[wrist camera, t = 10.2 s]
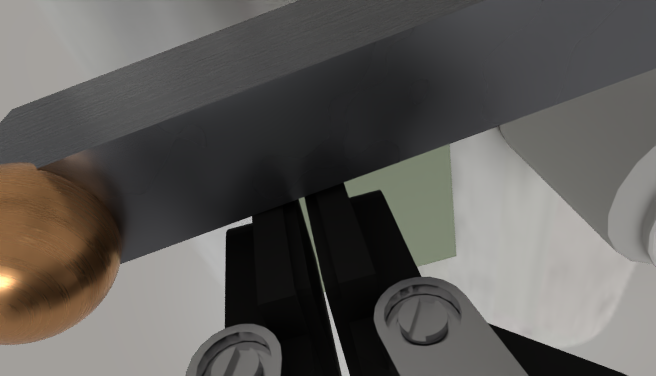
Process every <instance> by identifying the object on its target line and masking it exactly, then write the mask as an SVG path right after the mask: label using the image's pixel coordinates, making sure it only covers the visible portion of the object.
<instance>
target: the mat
mask: <svg viewBox="0 0 656 376" xmlns="http://www.w3.org/2000/svg"><path fill="white" fill-rule="evenodd" d="M344 185H345V188H346V190H347V193H348V196H349V197H353V196H357V195H361V194H364V193H368V192H372V191H376V190H381V191H382V193H383V195H384V197H385V199H386V201H387V203H388V205H389V208H390V210H391V212H392V214H393V216H394V218H395V221H396V223H397V225H398V227H399V229H400V231H401V234H402V236H403V238H404V240H405V242H406V244H407V247H408V249H409V251H410V253H411V255H412V257H413V260H414V262H415V264H416V266H417V267H418V266H421V265H425V264H429V263H432V262H436V261H440V260H443V259H447V258H451V257H454V256H456V244H455V227H454V211H453V195H452V179H451V162H450V146H449V144H448V145H445V146H442V147H439V148H437V149H434V150H431V151H429V152H426V153H423V154H420V155H418V156H415V157H412V158H409V159H407V160H404V161H401V162H398V163H396V164H393V165H390V166H387V167H385V168H382V169H379V170H377V171H374V172H371V173H368V174H366V175H363V176H360V177H357V178H355V179H352V180H349V181H346V182H344ZM299 202H300V205H301V209H302V212H303V215H304V219H305V222H306V226H307V229H308V232H309V236H310V239H311V243H312V246H313V249H314V253H315V257H316V261H317V265H318V269H319V274H320V278H321V283H322V288H323V292H326V291H325V288H324V284H323V280H322V275H321V271H320V267H319V262H318V258H317V253H316V248H315V244H314V239H313V235H312V230H311V226H310V221H309V217H308V212H307V208H306V203H305V199H304V197H303V198H300V199H299Z"/></svg>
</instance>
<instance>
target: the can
mask: <svg viewBox="0 0 656 376" xmlns="http://www.w3.org/2000/svg"><path fill="white" fill-rule="evenodd" d="M500 131H501V133H502V135H503V136H504V138H505V140H506V141H507V143H508V145H509V146H510V147H511V148H512V149H513V150H514V151H515V152H516V153H517V154H518V155H519V156H520V157H521V158H522V159H523V160H524V161H525V162H526V163H527V164H528V165H529V166H530V167H531V168H532V169H533V170H534V171H535V172H536V173H537V174H538V175H539V176H540V177H541V178H542V179H543V180H544V181H545V182H546V183H547V184H548V185H549V186H550V187H551V188H553V189H554V190H555V191H556V192H557V193H558V194H559V195H560V196H561V197H562V198H563V199H564V200H565V201H566V202H567V203H568V204H569V205H570V206H571V207H572V208H573V209H574V210H575V211H576V212H577V213H578V214H579V215H580V216H581V217H582V218H583V219H584V220H585V221H586V222H587V223H588V224H589V225H590V226H591V227H592V228H593V229H594V230H595V231H596V232H597V233H598V234H599V235H600V236H601V237H602V238H603V239H604V240H605V241H606V242H607V243H608V244H609V245H610V246H611V247H612V248H613V249H614V250H615V251H616V252H618V253H619V254H621V255H622V256H624V257H626V258H627V259H629V260H630V261H634V262H641V263H648V264H653V265H654V266H656V69H653V70H650V71H648V72H645V73H642V74H639V75H637V76H634V77H631V78H628V79H626V80H623V81H620V82H617V83H615V84H612V85H609V86H606V87H604V88H601V89H598V90H596V91H593V92H590V93H587V94H585V95H582V96H579V97H576V98H574V99H571V100H568V101H565V102H563V103H560V104H557V105H554V106H552V107H549V108H546V109H544V110H541V111H538V112H535V113H533V114H530V115H527V116H524V117H522V118H519V119H516V120H513V121H511V122H508V123H505V124H502V125H500Z"/></svg>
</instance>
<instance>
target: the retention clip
mask: <svg viewBox="0 0 656 376" xmlns="http://www.w3.org/2000/svg"><path fill="white" fill-rule="evenodd" d="M653 69H656V0H299V1H296V2H294V3H291V4H288V5H286V6H283V7H280V8H278V9H275V10H272V11H270V12H267V13H265V14H262V15H259V16H257V17H254V18H251V19H249V20H246V21H244V22H241V23H238V24H236V25H233V26H230V27H228V28H225V29H223V30H220V31H217V32H215V33H212V34H209V35H207V36H204V37H201V38H199V39H196V40H194V41H191V42H188V43H186V44H183V45H180V46H178V47H175V48H173V49H170V50H167V51H165V52H162V53H159V54H157V55H154V56H152V57H149V58H146V59H144V60H141V61H138V62H136V63H133V64H130V65H128V66H125V67H123V68H120V69H117V70H115V71H112V72H109V73H107V74H104V75H102V76H99V77H96V78H94V79H91V80H88V81H86V82H83V83H81V84H78V85H76V86H73V87H70V88H68V89H65V90H62V91H59V92H57V93H54V94H52V95H50V96H46V97H44V98H41V99H39V100H36V101H33V102H31V103H28V104H25V105H23V106H20V107H17V108H15V109H12V110H11V111H10V112H9V114H8V115H7V116H6V117H5V118H4V119H3V120H2V121H1V123H0V345H15V344H25V343H31V342H36V341H40V340H43V339H46V338H49V337H52V336H55V335H57V334H59V333H62V332H64V331H65V330H67V329H69V328H71V327H73V326H74V325H76V324H78V323H79V322H80V321H81V320H83V319H84V318H85V317H86V316H88V315H89V314H90V313H91V312H92V311H93V310H94V309H95V308H96V307H97V306H98V305H99V304H100V303H101V302H102V300H103V299H104V298H105V296H106V295H107V293H108V292H109V290H110V288H111V287H112V285H113V283H114V281H115V278H116V276H117V273H118V269H119V266H120V264H122V263H124V262H127V261H130V260H133V259H136V258H138V257H141V256H144V255H147V254H149V253H152V252H155V251H158V250H160V249H163V248H166V247H169V246H171V245H174V244H177V243H179V242H182V241H185V240H188V239H190V238H193V237H196V236H199V235H201V234H204V233H207V232H210V231H212V230H215V229H218V228H221V227H223V226H226V225H229V224H231V223H234V222H237V221H240V220H242V219H245V218H248V217H251V216H253V215H256V214H259V213H262V212H264V211H267V210H270V209H273V208H275V207H278V206H281V205H283V204H286V203H289V202H292V201H294V200H297V199H300V198H303V197H305V196H308V195H311V194H314V193H316V192H319V191H322V190H325V189H327V188H330V187H333V186H335V185H338V184H341V183H344V182H346V181H349V180H352V179H355V178H357V177H360V176H363V175H366V174H368V173H371V172H374V171H377V170H379V169H382V168H385V167H387V166H390V165H393V164H396V163H398V162H401V161H404V160H407V159H409V158H412V157H415V156H418V155H420V154H423V153H426V152H429V151H431V150H434V149H437V148H439V147H442V146H445V145H448V144H450V143H453V142H456V141H459V140H461V139H464V138H467V137H470V136H472V135H475V134H478V133H481V132H483V131H486V130H489V129H491V128H494V127H497V126H500V125H502V124H505V123H508V122H511V121H513V120H516V119H519V118H522V117H524V116H527V115H530V114H533V113H535V112H538V111H541V110H544V109H546V108H549V107H552V106H554V105H557V104H560V103H563V102H565V101H568V100H571V99H574V98H576V97H579V96H582V95H585V94H587V93H590V92H593V91H596V90H598V89H601V88H604V87H606V86H609V85H612V84H615V83H617V82H620V81H623V80H626V79H628V78H631V77H634V76H637V75H639V74H642V73H645V72H648V71H650V70H653Z"/></svg>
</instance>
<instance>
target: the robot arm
mask: <svg viewBox="0 0 656 376" xmlns="http://www.w3.org/2000/svg"><path fill="white" fill-rule="evenodd" d="M304 199H305V203H306V208H307V212H308V217H309V221H310V226H311V230H312V235H313V239H314V244H315V248H316V253H317V258H318V262H319V267H320V271H321V275H322V280H323V284H324V288H325V291H326V295H327V299H328V302H329V306H330V309H331V312H332V316H333V319H334V323H335V326H336V329H337V333H338V336H339V340H340V343H341V346H342V350H343V353H344V357H345V360H346V363H347V367H348V370H349V374H350V376H627V375H625V374H623V373H620V372H618V371H615V370H612V369H609V368H607V367H604V366H602V365H599V364H596V363H594V362H591V361H588V360H585V359H583V358H580V357H577V356H575V355H572V354H569V353H566V352H564V351H561V350H559V349H556V348H553V347H551V346H548V345H545V344H543V343H540V342H537V341H534V340H532V339H529V338H526V337H524V336H521V335H518V334H516V333H513V332H510V331H508V330H505V329H502V328H499V327H497V326H494V325H491V324H489V323H487V322H486V321H485V319H484V318H483V317H482V315H481V314H480V313H479V312H478V310H477V309H476V308H475V306H474V305H473V304H472V303H471V301H470V300H469V299H468V297H467V296H466V295H465V294H464V293H463V292H462V291H461V290H460V289H458V288H457V287H456V286H455V285H453V284H451V283H449V282H447V281H445V280H442V279H437V278H432V277H421V275H420V273H419V270H418V268H417V266H416V264H415V262H414V260H413V257H412V255H411V253H410V251H409V249H408V247H407V244H406V242H405V240H404V238H403V236H402V234H401V231H400V229H399V227H398V225H397V223H396V221H395V218H394V216H393V214H392V212H391V210H390V208H389V205H388V203H387V201H386V199H385V197H384V195H383V193H382V191H381V190H376V191H372V192H368V193H364V194H361V195H357V196H353V197H349V196H348V193H347V190H346V188H345V185H344V183H341V184H338V185H335V186H333V187H330V188H327V189H325V190H322V191H319V192H316V193H314V194H311V195H308V196H305V197H304ZM252 222H253V223H251V224H247V225H243V226H239V227H236V228H232V229H228V230H227V232H226V272H225V329H223V330H221V331H220V332H218V333H216V334H214V335H212V336H211V337H210V338H209V339H208V340H207V341H205V342H204V343H203V344H202V345H201V346H200V347H199V349H198V350H197V352H196V353H195V354H194V355H193V357H192V359H191V361H190V364H189V366H188V369H187V372H186V376H342V375H341V371H340V366H339V361H338V357H337V352H336V348H335V343H334V338H333V334H332V329H331V324H330V320H329V315H328V311H327V306H326V301H325V297H324V292H323V288H322V283H321V278H320V274H319V269H318V265H317V261H316V257H315V253H314V249H313V246H312V243H311V239H310V236H309V232H308V229H307V226H306V222H305V219H304V215H303V212H302V209H301V205H300V202H299V199H297V200H294V201H292V202H289V203H286V204H283V205H281V206H278V207H275V208H273V209H270V210H267V211H264V212H262V213H259V214H256V215H253V216H252Z"/></svg>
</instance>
